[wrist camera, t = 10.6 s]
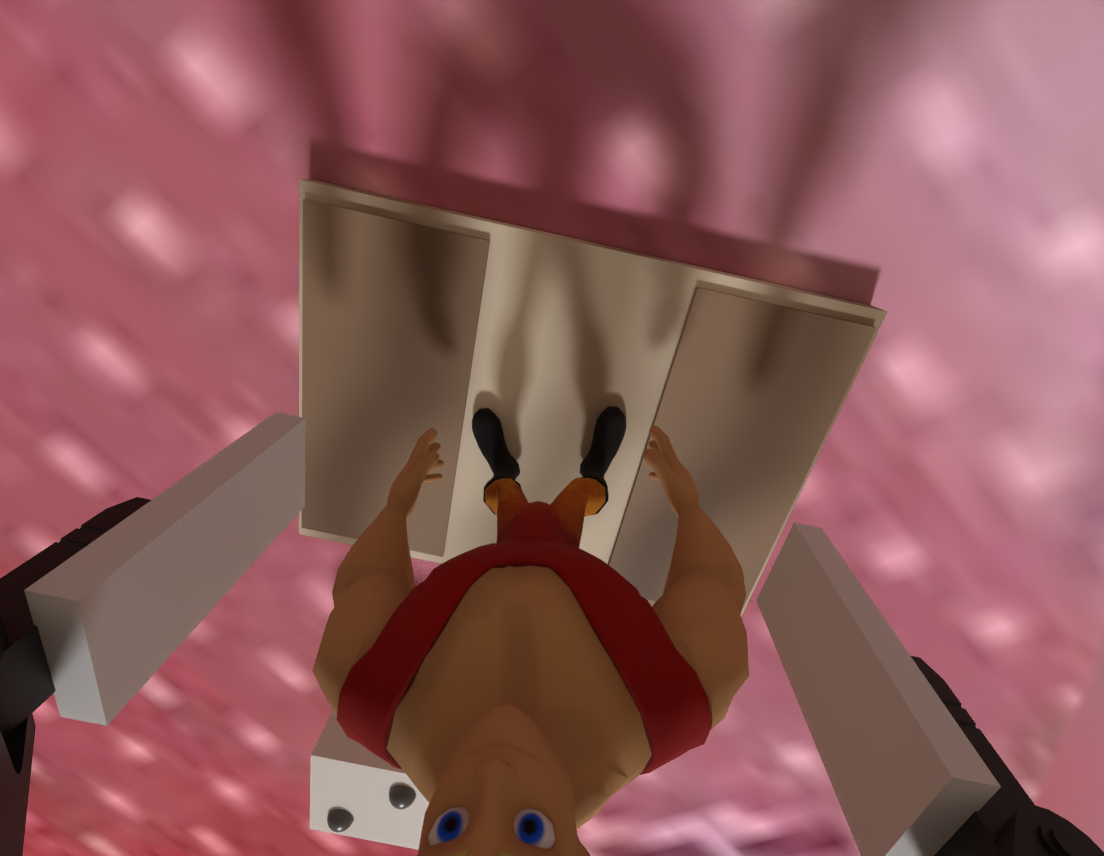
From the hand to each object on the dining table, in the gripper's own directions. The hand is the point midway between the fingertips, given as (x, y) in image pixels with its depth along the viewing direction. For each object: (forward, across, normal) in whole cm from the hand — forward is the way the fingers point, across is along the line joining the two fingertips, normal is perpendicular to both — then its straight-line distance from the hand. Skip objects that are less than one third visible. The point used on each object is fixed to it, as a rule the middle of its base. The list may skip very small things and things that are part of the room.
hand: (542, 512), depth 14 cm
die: (+6, +4, +16) cm, 17 cm away
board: (+6, 0, 0) cm, 6 cm away
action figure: (+5, 0, 0) cm, 5 cm away
